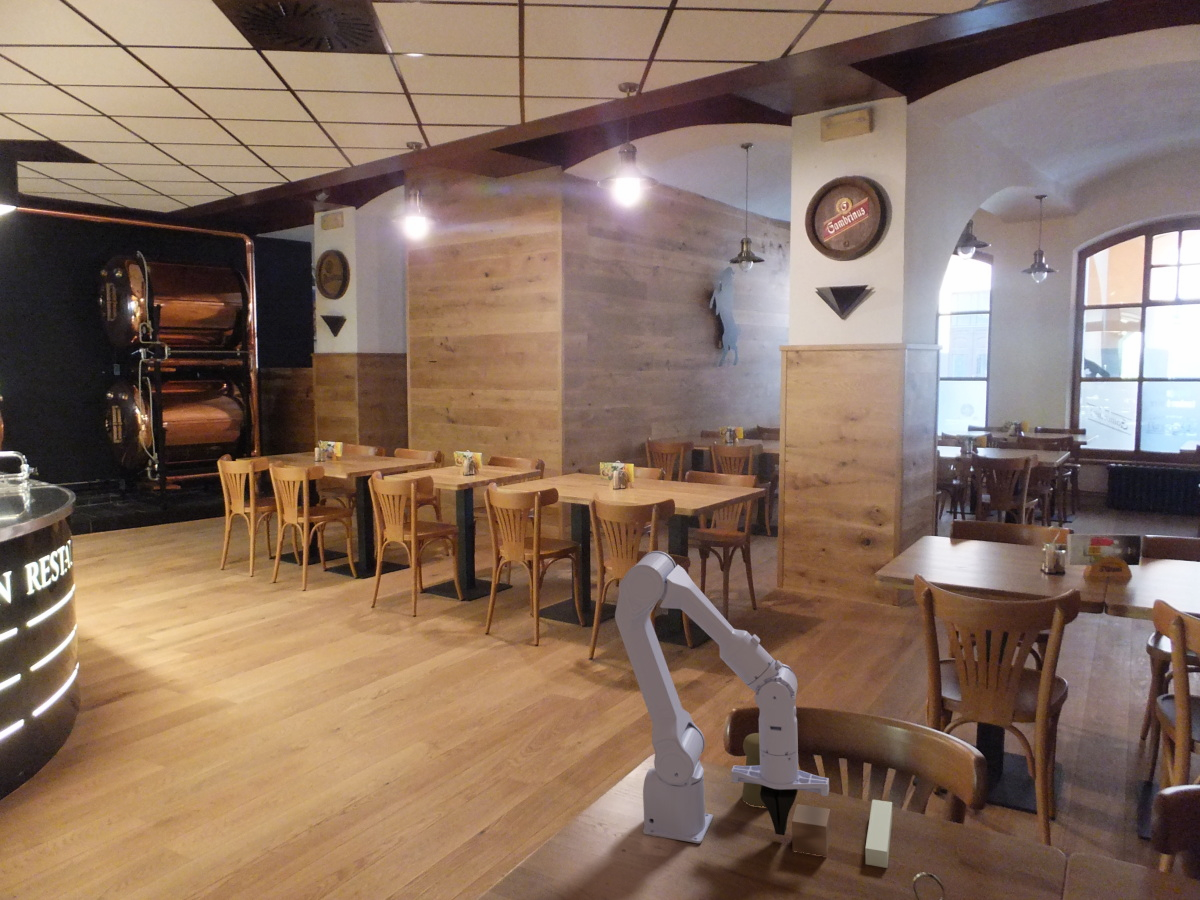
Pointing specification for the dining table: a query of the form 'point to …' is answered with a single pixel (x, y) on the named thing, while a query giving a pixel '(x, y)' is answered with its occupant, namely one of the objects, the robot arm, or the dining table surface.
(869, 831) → the cream rectangular bar
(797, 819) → the walnut block
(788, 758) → the robot arm
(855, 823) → the dining table surface
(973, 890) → the dining table surface
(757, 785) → the cork
